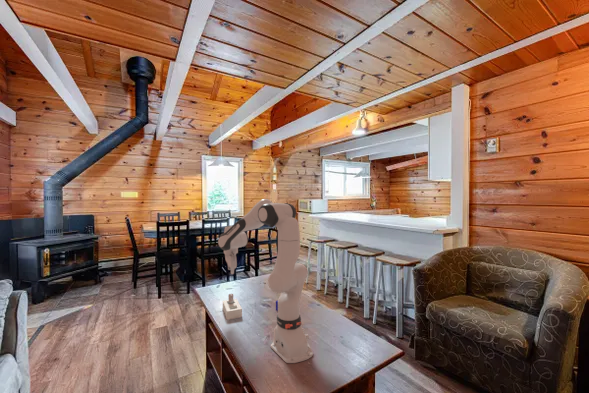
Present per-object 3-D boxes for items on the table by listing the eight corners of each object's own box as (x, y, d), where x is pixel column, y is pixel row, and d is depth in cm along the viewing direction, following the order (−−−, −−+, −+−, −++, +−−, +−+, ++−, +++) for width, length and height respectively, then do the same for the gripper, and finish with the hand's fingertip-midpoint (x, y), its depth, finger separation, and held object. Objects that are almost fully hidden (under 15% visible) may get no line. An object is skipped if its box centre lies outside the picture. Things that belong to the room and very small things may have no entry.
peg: (233, 310, 164) (233, 295, 164) (228, 311, 163) (228, 295, 162) (232, 308, 167) (232, 293, 166) (228, 309, 165) (228, 294, 165)
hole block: (241, 316, 156) (242, 308, 156) (226, 319, 152) (226, 311, 152) (236, 306, 170) (236, 298, 170) (222, 308, 167) (222, 300, 166)
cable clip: (285, 303, 176) (285, 294, 175) (290, 305, 173) (290, 296, 173) (274, 309, 166) (274, 300, 166) (279, 311, 163) (279, 302, 163)
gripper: (239, 253, 156) (239, 275, 156) (232, 246, 174) (232, 266, 175) (228, 254, 153) (228, 277, 153) (223, 247, 172) (223, 267, 172)
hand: (230, 271), depth 164 cm, fingers open, 8 cm apart
